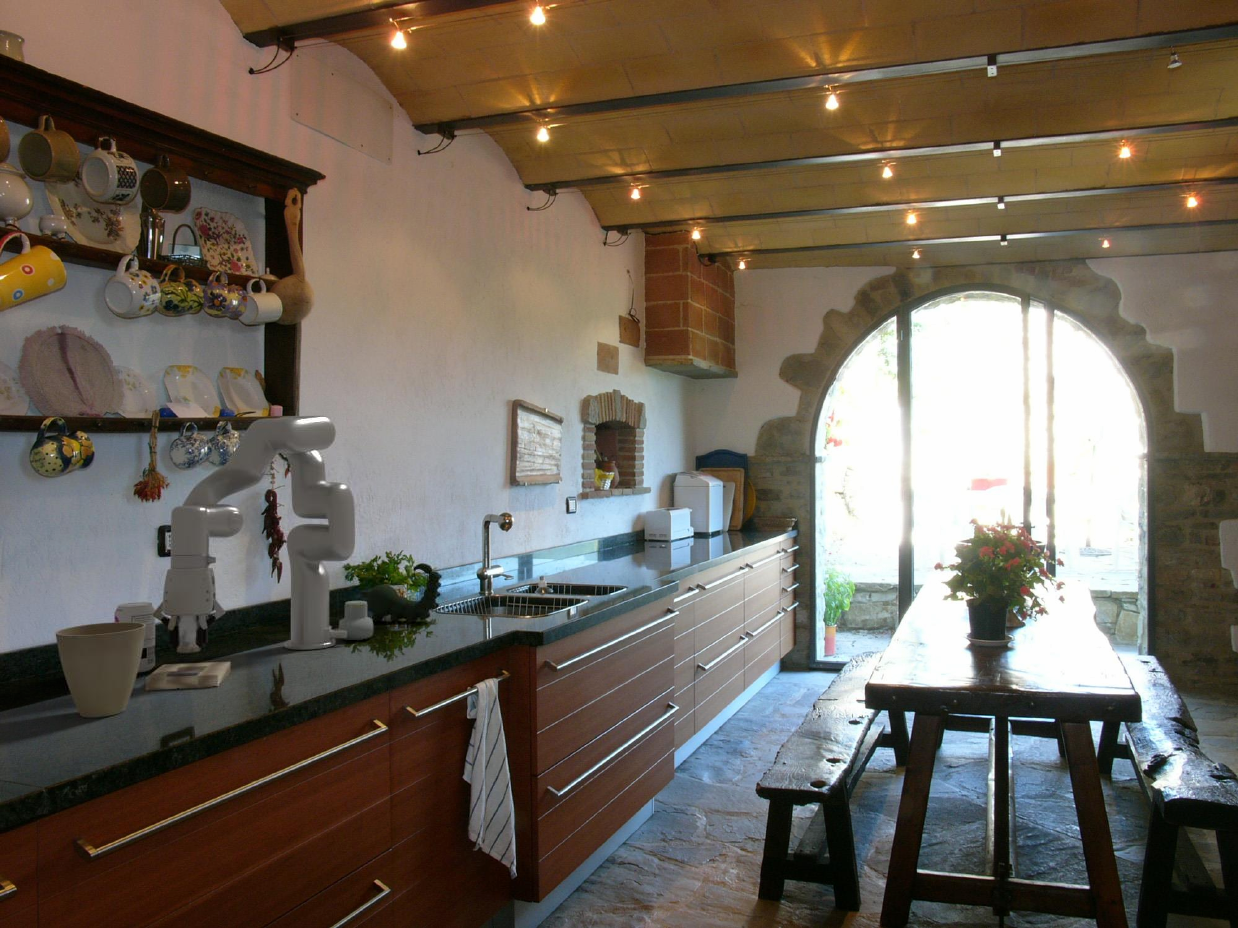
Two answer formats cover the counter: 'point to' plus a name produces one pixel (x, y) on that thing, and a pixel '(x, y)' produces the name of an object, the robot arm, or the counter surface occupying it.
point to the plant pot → (101, 664)
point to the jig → (188, 675)
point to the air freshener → (356, 621)
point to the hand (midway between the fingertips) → (188, 646)
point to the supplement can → (144, 614)
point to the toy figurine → (403, 600)
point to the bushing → (188, 633)
